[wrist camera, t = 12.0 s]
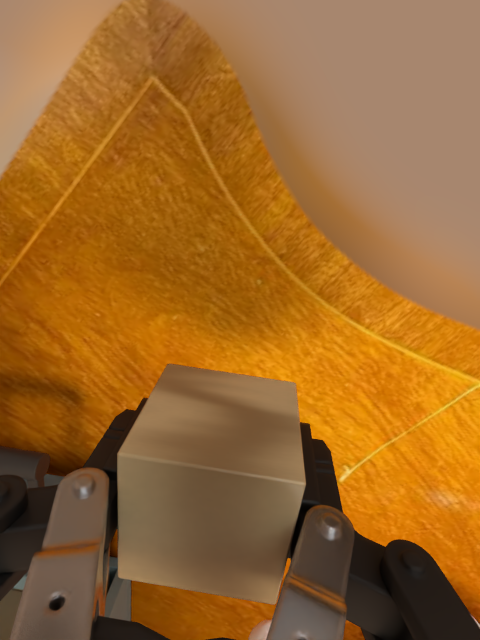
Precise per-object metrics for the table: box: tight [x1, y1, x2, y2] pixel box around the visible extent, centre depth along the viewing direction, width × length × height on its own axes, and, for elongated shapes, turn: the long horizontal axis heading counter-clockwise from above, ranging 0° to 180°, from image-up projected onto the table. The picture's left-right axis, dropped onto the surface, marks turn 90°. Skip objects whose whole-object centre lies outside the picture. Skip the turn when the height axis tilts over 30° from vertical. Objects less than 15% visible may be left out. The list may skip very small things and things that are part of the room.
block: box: [117, 364, 306, 604], centre depth 12 cm, size 5×5×5 cm
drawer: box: [0, 446, 110, 640], centre depth 24 cm, size 19×10×7 cm, turn 174°
